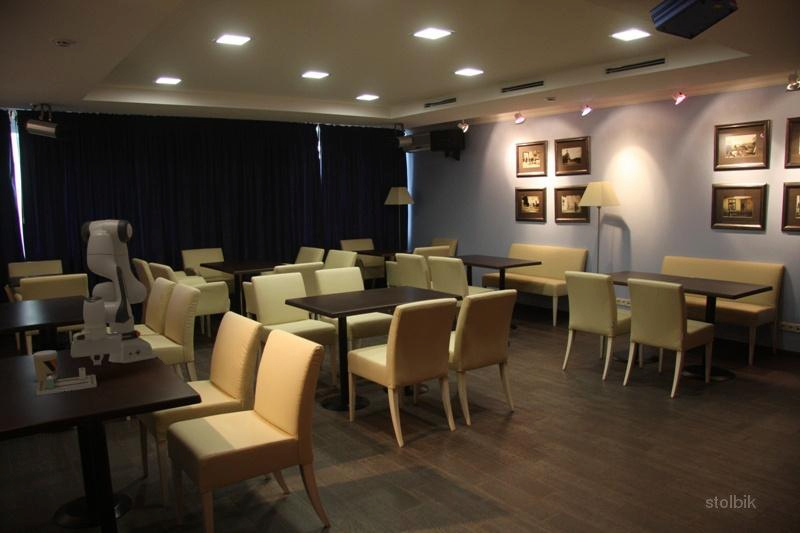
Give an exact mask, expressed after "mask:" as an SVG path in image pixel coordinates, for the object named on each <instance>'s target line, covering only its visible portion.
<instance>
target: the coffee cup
mask: <svg viewBox="0 0 800 533" xmlns="http://www.w3.org/2000/svg"><path fill="white" fill-rule="evenodd" d="M32 358H33V365H34V369H35V371H34V372H35V375H36V376H35V377H36V381H37V380H38V381H37V382H41V381H43V382H45V381H46V379H47V377H49V376H51V377H52V376H53V378H54V380H57V378H58V352H57V350H51V349H50V350H41V351H36V352H34V353H33V354H32Z"/></svg>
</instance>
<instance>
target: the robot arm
mask: <svg viewBox="0 0 800 533" xmlns="http://www.w3.org/2000/svg"><path fill="white" fill-rule="evenodd" d="M80 232H81V237H82V240H83V241H85V243H87V249H86V263H87V267H88V269H89V270H90V271H91V272H92V273H94V274H96V275H98V276H101V277H104V278H107V279H110V280H111V281H106V282H102V283H98V284H96V285H95V286H94V287H93V289H92V296H90V297H89V296H88V297H87V298H85V299H84V301H83V308H82V312H83V313H82V314H83V315H82V316H83V321H84V326H83V330H82V331H79V332H76V333H74V334H73V335H72V339H73V341H71V345H70V357H71V358H83V357H90V360H92V362H93V366H101V365H102V360H103V359H104V355H108V354H109V357H108V362H111V363H120V364H128V363H129V364H130V363H135V362H140V361H146V360H150V359H156V358H157V357H158V352H156V351H154V350H153V348H152V345H151V343H150V342H149V341H146V339H143V338H142V337H140V336H141V332H140V331H139V330H137V329H135V319H134V317H135V316H134V315H133V312H132V307H131V305H134V304H138V303H143V302H144V301H145V300H146V298H147V295H148V292H147V287H146V286H145V284H144V283H142V282H141V281H139V280H138V279H137V278H136V277H135V275H134V274H133V272H132V269H131V264H130V259H129V250H128V246H127V242H129V241H130V239H131V238H132V235H133V227H132V224H131V223H130V222H129V221H128V220H125V219H105V220H104V219H102V220H95V221H92V220H90V221H87V222H86V221H85V222H84V223H83V225H82V226H81V231H80ZM107 324H108V325H109V332H108V331H107V330H108V329H107V328H108V327H107ZM95 356H99V360H97V359H96V360H95Z"/></svg>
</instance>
